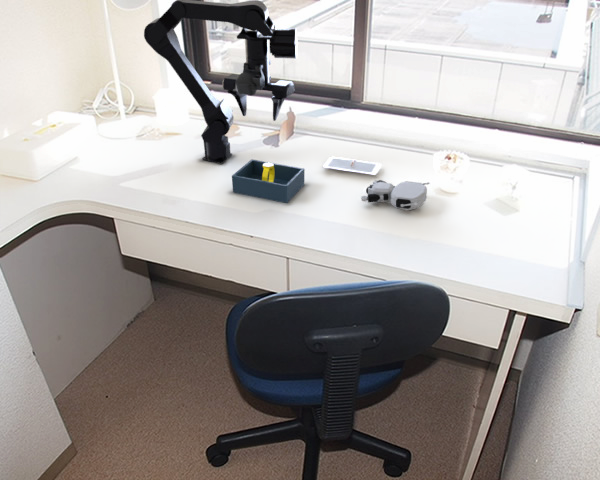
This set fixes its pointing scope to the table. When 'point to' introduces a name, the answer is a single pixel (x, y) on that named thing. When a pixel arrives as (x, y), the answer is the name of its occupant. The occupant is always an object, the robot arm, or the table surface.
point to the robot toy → (397, 194)
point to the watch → (269, 168)
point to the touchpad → (352, 165)
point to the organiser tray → (280, 190)
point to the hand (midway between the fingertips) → (259, 118)
